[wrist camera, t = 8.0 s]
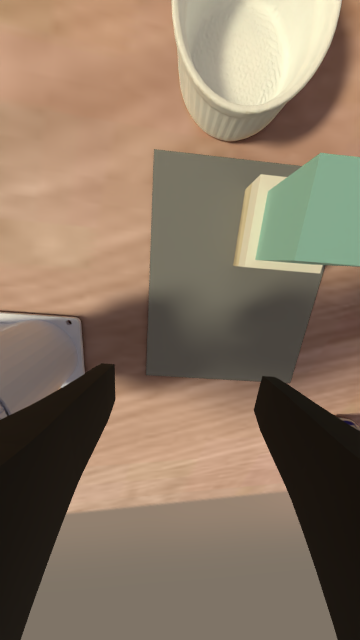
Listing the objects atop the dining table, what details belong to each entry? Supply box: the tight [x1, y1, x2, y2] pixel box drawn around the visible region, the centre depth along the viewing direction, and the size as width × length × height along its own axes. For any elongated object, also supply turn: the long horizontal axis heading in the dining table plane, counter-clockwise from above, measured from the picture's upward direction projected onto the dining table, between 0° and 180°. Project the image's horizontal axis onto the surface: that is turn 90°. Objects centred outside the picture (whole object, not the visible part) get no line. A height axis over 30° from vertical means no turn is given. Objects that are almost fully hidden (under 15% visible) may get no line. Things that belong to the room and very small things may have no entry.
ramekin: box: [172, 0, 342, 141], centre depth 12 cm, size 9×9×4 cm
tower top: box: [238, 174, 323, 274], centre depth 15 cm, size 6×6×2 cm
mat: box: [146, 149, 325, 383], centre depth 18 cm, size 16×20×1 cm
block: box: [255, 153, 360, 267], centre depth 12 cm, size 4×4×5 cm
